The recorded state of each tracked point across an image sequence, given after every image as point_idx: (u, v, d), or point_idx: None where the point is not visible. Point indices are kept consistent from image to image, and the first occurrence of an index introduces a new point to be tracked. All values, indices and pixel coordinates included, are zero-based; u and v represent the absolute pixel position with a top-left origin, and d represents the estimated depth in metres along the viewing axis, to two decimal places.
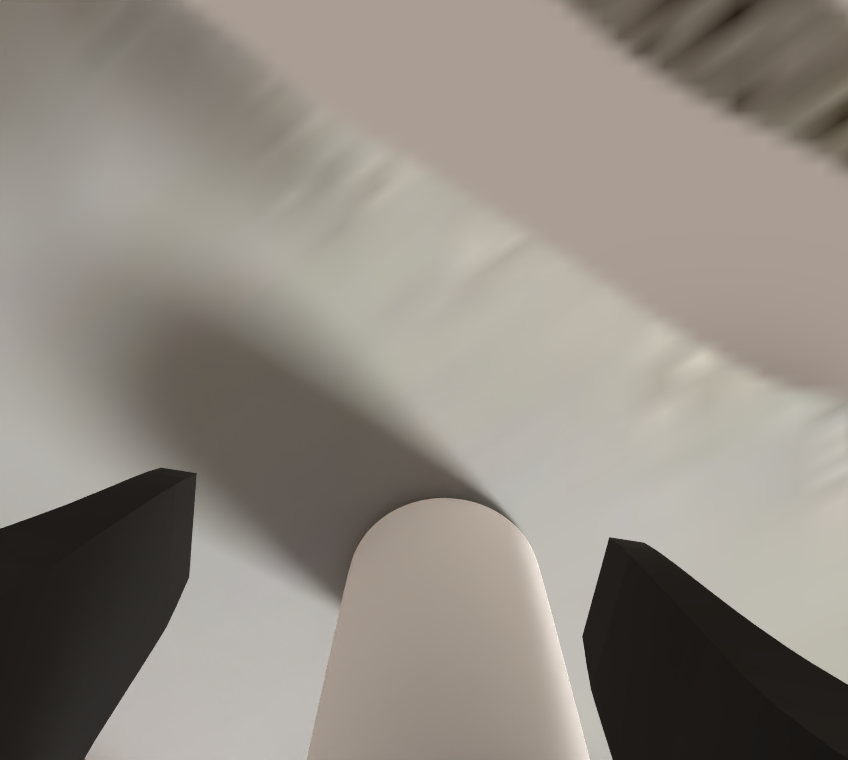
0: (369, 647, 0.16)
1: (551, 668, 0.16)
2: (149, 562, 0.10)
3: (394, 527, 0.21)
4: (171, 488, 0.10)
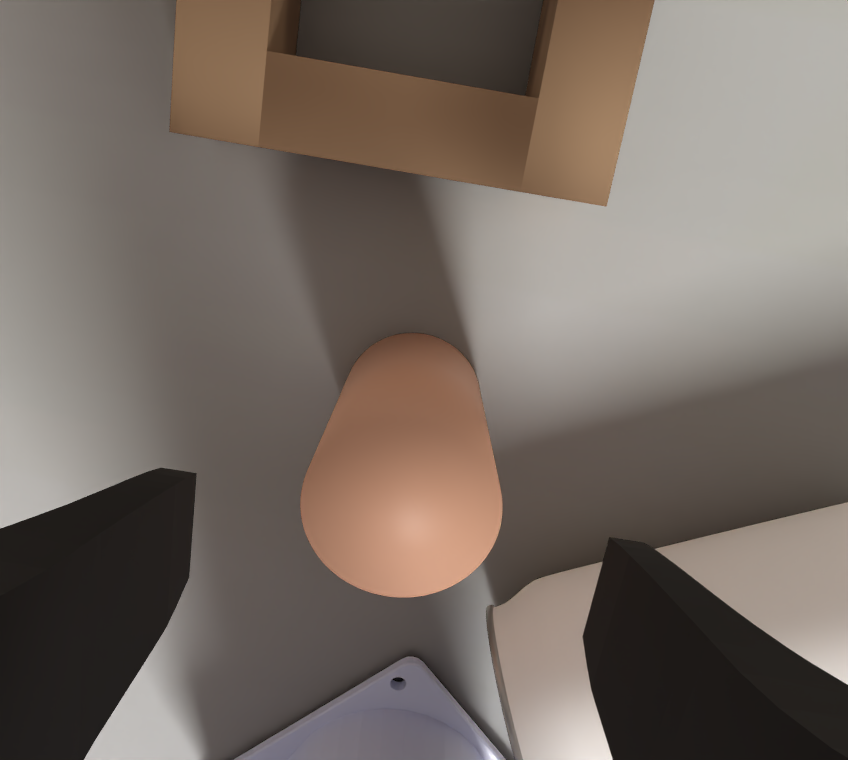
0: None
1: None
2: (149, 562, 0.10)
3: None
4: (171, 488, 0.10)
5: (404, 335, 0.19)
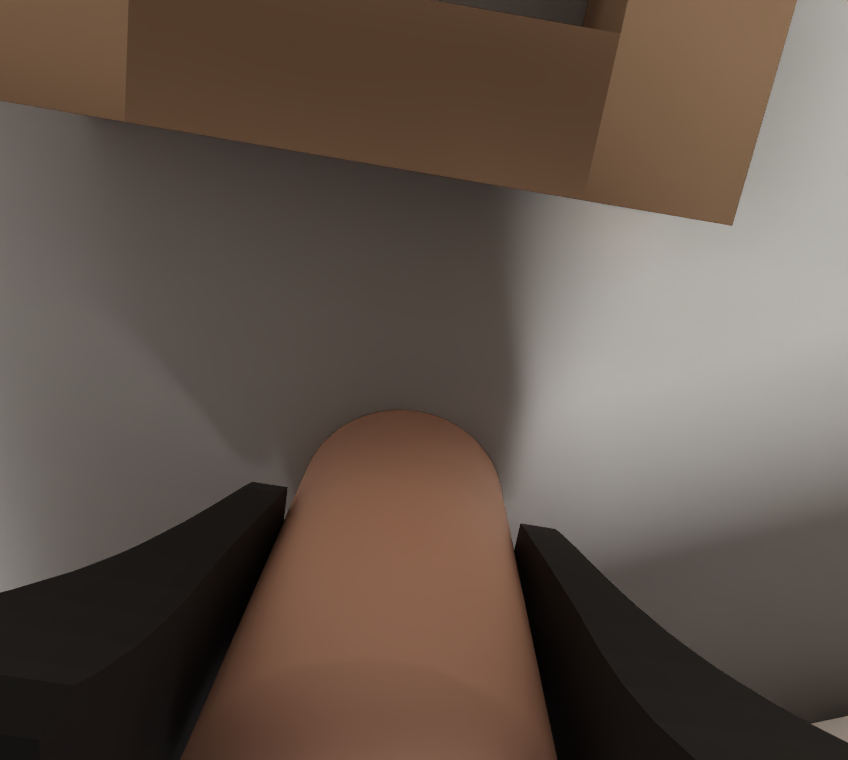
0: None
1: None
2: (254, 578, 0.10)
3: None
4: (272, 504, 0.10)
5: (388, 415, 0.13)
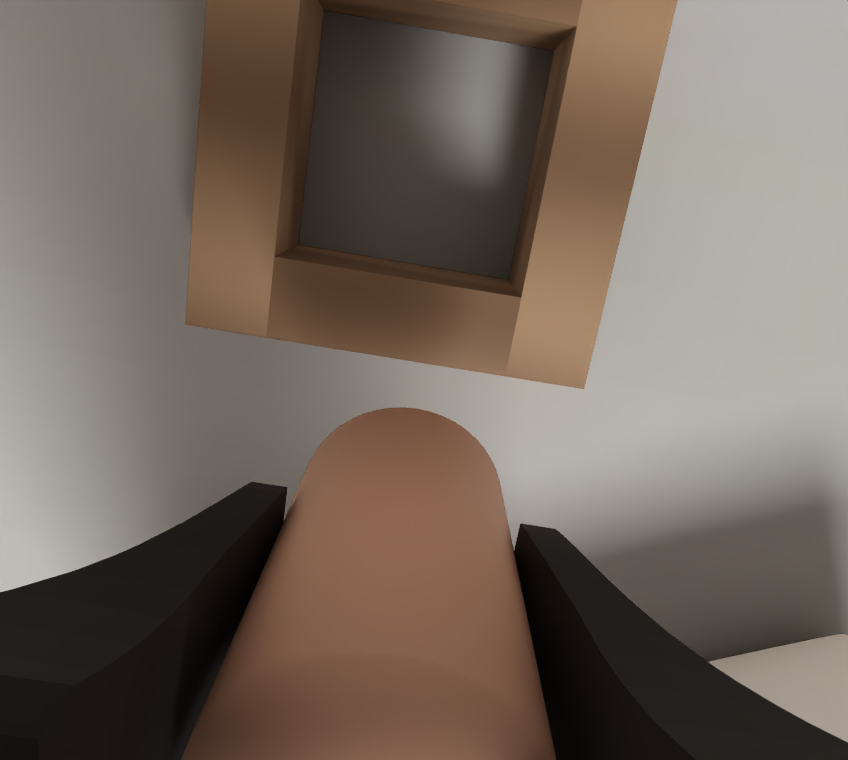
0: None
1: None
2: (253, 578, 0.10)
3: None
4: (272, 503, 0.10)
5: (388, 413, 0.13)
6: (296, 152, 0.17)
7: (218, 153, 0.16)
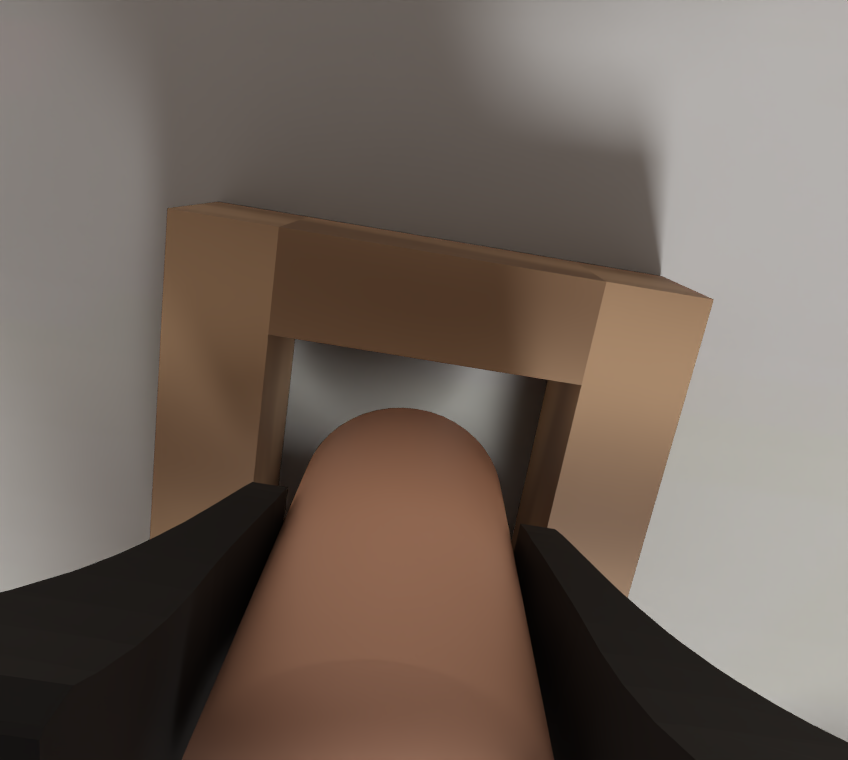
0: None
1: None
2: (253, 578, 0.10)
3: None
4: (272, 504, 0.10)
5: (387, 413, 0.13)
6: (267, 474, 0.15)
7: (176, 506, 0.14)
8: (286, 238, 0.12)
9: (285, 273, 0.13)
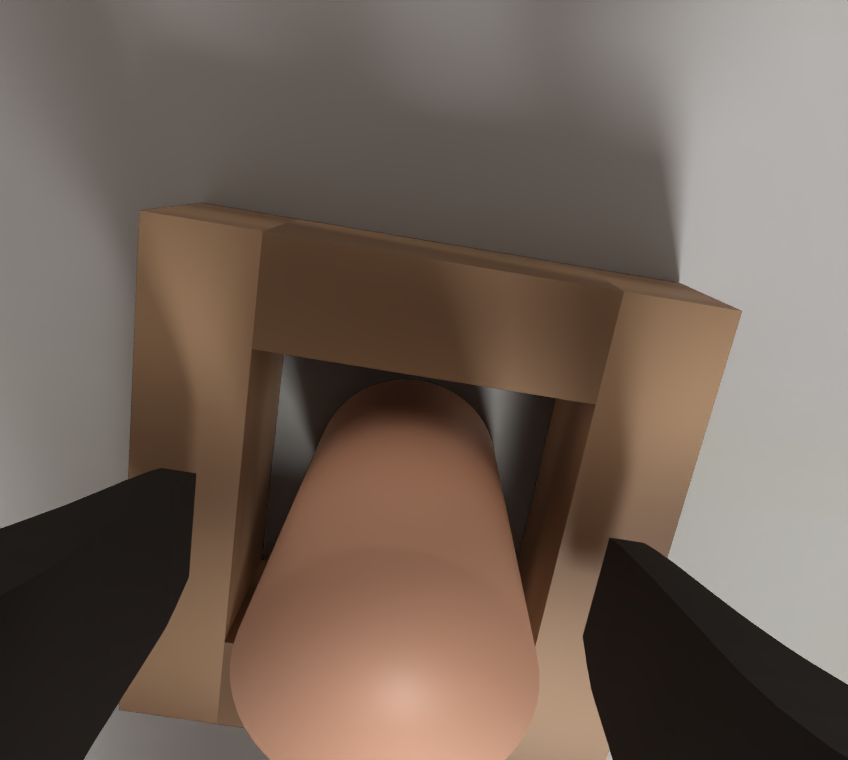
0: None
1: None
2: (149, 562, 0.10)
3: None
4: (171, 488, 0.10)
5: (395, 383, 0.15)
6: (253, 498, 0.14)
7: None
8: (271, 243, 0.11)
9: (270, 282, 0.11)
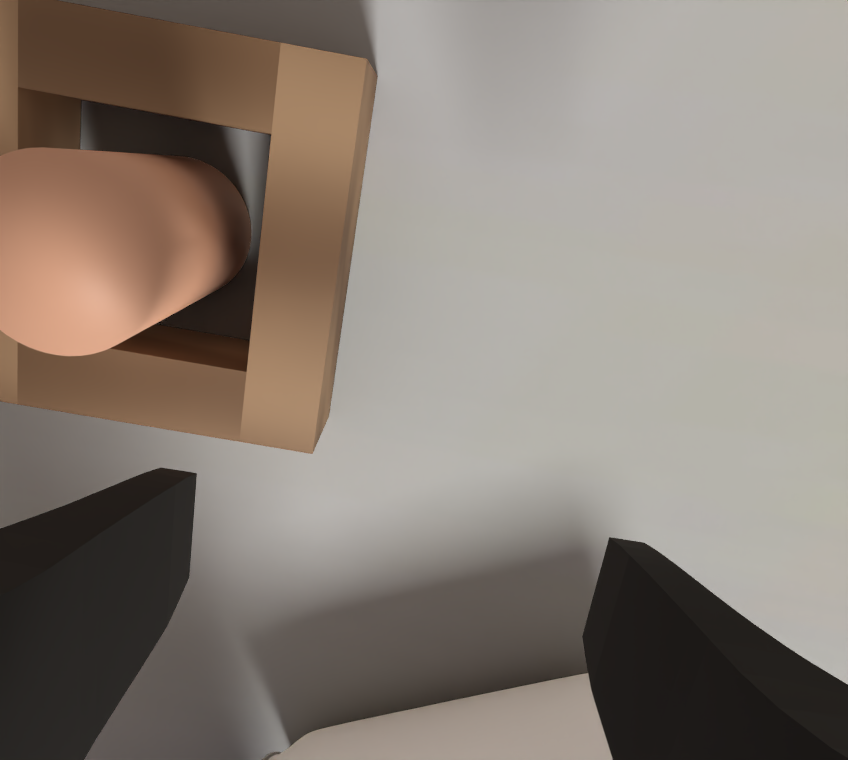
0: None
1: None
2: (149, 562, 0.10)
3: None
4: (171, 488, 0.10)
5: None
6: None
7: None
8: (24, 3, 0.16)
9: (26, 33, 0.16)
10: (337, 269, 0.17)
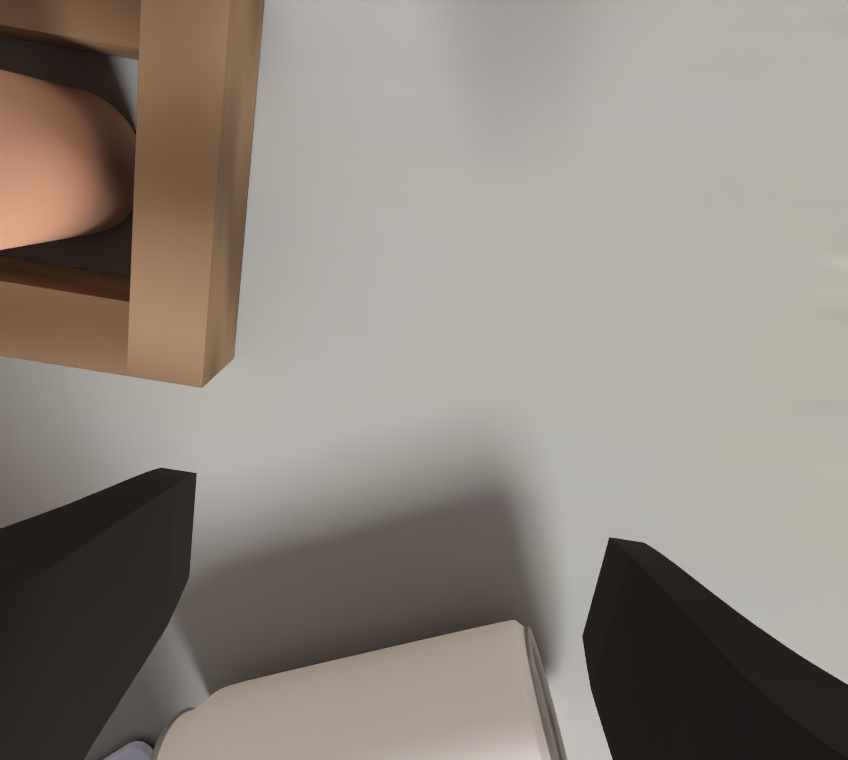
0: (298, 757, 0.19)
1: None
2: (149, 562, 0.10)
3: (486, 730, 0.18)
4: (171, 488, 0.10)
5: None
6: None
7: None
8: None
9: None
10: (216, 192, 0.17)
